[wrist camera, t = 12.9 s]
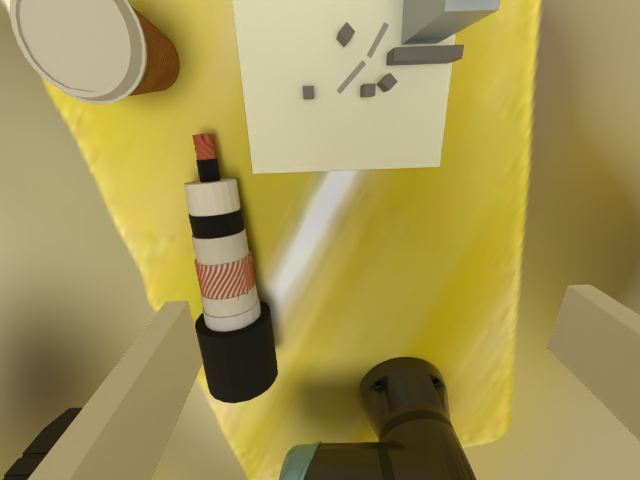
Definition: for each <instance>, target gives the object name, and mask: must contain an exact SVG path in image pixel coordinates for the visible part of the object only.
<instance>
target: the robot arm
mask: <svg viewBox="0 0 640 480" xmlns="http://www.w3.org/2000/svg"><path fill="white" fill-rule="evenodd" d="M547 348H548V349H549V350H550V351H551V352H552V353H553V354H554V355H555V356H556V357H557V358H558V359H559V360H560V361H561V362H562V363H563V364H564V365H565V366H566V367H567V368H568V369H569V370H570V371H571V372H572V373H573V374H574V375H575V376H576V377H577V378H578V379H579V380H580V381H581V382H582V383H583V384H584V385H585V386H586V387H587V388H588V389H589V390H590V391H591V392H592V393H593V394H594V395H595V396H596V397H597V398H598V399H599V400H600V401H601V402H602V403H603V404H604V405H605V406H606V407H607V408H608V409H609V410H610V411H611V412H612V413H613V414H614V415H615V416H616V418H618V419H619V421H620V422H621V423H622V424H623V425H624V426H625V427H626V428H627V429H628V430H629V431H630V432H631V433H632V434H633V435H634V436H635V437H636V438H637V439H638V440H639V441H640V315H638V314H636V313H635V312H633V311H632V310H630V309H628V308H627V307H625V306H624V305H622V304H620V303H619V302H617V301H615V300H614V299H612V298H611V297H609V296H607V295H606V294H604V293H603V292H601V291H599V290H598V289H596V288H595V287H593V286H591V285H569V286H568V288H567V291H566V293H565V296H564V299H563V302H562V305H561V308H560V311H559V314H558V317H557V320H556V323H555V326H554V329H553V332H552V335H551V337H550V340H549V343H548V347H547ZM202 363H203V359H202V355H201V351H200V347H199V343H198V339H197V335H196V331H195V327H194V323H193V319H192V315H191V311H190V307H189V303H188V301H174V302H165V303H164V305H163V306H162V307H161V308H160V310H159V311H158V312H157V314H156V315H155V316H154V317H153V319H152V320H151V321H150V323H149V324H148V325H147V327H146V328H145V329H144V330H143V332H142V333H141V334H140V335H139V337H138V338H137V339H136V341H135V342H134V343H133V345H132V346H131V347H130V348H129V350H128V351H127V352H126V354H125V355H124V356H123V357H122V359H121V360H120V361H119V363H118V364H117V365H116V366H115V368H114V369H113V370H112V372H111V373H110V374H109V375H108V377H107V378H106V379H105V381H104V382H103V383H102V385H101V386H100V387H99V388H98V390H97V391H96V392H95V394H94V395H93V396H92V397H91V399H90V400H89V401H88V402H87V404H86V405H85V406H84V408H69V409H68V410H66V411H65V412H64V413H63V414H62V415H60V416H59V417H58V418H57V419H55V420H54V421H53V422H51V423H50V424H49V425H48V426H47V427H45V428H44V429H43V430H42V431H41V433H40V434H39V435H38V436H37V437H36V438H35V440H34V441H33V442H32V443H31V444H30V445H29V447H28V448H27V449H26V450H25V452H23V456H22V458H19V459H18V460H17V461H16V462H15V463H14V464H13V466H12V467H11V468H10V469H9V470H8V471H7V473H6V474H5V475H4V479H3V480H151V479H152V476H153V474H154V472H155V469H156V467H157V465H158V463H159V461H160V458H161V456H162V454H163V452H164V449H165V447H166V444H167V442H168V440H169V438H170V436H171V433H172V431H173V429H174V427H175V424H176V422H177V420H178V418H179V415H180V413H181V411H182V408H183V406H184V404H185V401H186V399H187V397H188V395H189V393H190V390H191V388H192V386H193V384H194V381H195V379H196V377H197V374H198V372H199V370H200V368H201V365H202ZM360 398H361V404H362V408H363V411H364V413H365V415H366V417H367V418H368V420H369V422H370V424H371V426H372V428H373V429H374V431H375V433H376V435H377V437H378V440H379V442H362V443H322V442H317V443H315V444H304V445H296V446H294V447H292V448H291V449H290V450H289V451H288V453H287V455H286V457H285V459H284V462H283V466H282V469H281V473H280V478H279V480H476V478H475V475H474V473H473V471H472V469H471V466H470V464H469V462H468V460H467V457H466V455H465V453H464V451H463V449H462V446H461V444H460V442H459V440H458V438H457V435H456V433H455V431H454V429H453V426H452V424H451V422H450V415H449V405H448V395H447V389H446V385H445V383H444V381H443V379H442V377H441V375H440V373H439V371H438V370H437V369H436V368H435V367H434V366H433V365H431V364H429V363H428V362H425V361H423V360H419V359H414V358H399V359H393V360H390V361H387V362H384V363H382V364H380V365H378V366H376V367H375V368H373V369H372V370H371V371H370V372H369V373H368V374H367V375H366V376H365V378H364V379H363V381H362V383H361V386H360Z"/></svg>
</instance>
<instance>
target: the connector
mask: <svg viewBox="0 0 640 480" xmlns="http://www.w3.org/2000/svg"><path fill="white" fill-rule="evenodd" d="M499 4H500V0H404V3H403V20H402V36H401V45H412V44H437V43H439V42H441V41H443V40H444V39H446V38H448V37H450V36H452V35H453V34H455V33H457V32H459V31H461V30H462V29H464V28H466V27H468V26H470V25H472V24H473V23H475V22H477V21H479V20H481V19H482V18H484V17H486V16H488V15H490V14H492V13H493V12H495V11H497V10H499Z"/></svg>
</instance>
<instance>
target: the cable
mask: <svg viewBox="0 0 640 480" xmlns="http://www.w3.org/2000/svg"><path fill="white" fill-rule="evenodd" d="M192 136H193V141H194V145H195V151H196V153H197V160H196V161H197V166H198V172H199V177H200V181H194V182H188V183H184V187H185V193H186V198H187V203H188V208H189V219H190V223H191V228H192V233H193V235H192V240H193V244H194V249H195V254H196V259H195V266H196V271H197V275H198V280H199V286H200V290H201V297H202V301H203V306H204V307H203V313H202V314H201V315H200V316H199V318H198V319H197V321H196V322H195V329H196V333H197V338H198V342H199V347H200V351H201V355H202V359H203V365H204V370H205V374H206V379H207V383H208V387H209V391H210V394H211V395H212V396H213V397H214V398H215V399H217V400H220V401H222V402H227V403H238V402H243V401H248V400H251V399H253V398H255V397H257V396H259V395H261V394H262V393H264V392H265V391H266V390H268V389H269V388H270V386H271V385H272V384H273V383H274V381H275V379H276V377H277V375H278V370H277V360H276V352H275V345H274V337H273V330H272V323H271V315H270V308H269V306H268V305H267V304H266V303H265V302H263V301H261V300H259V297H258V295H257V289H256V283H255V278H254V267H253V255H252V251H250V250H249V249H248V243H247V236H246V229H245V227H244V222H243V215H242V209H241V207H240V201H239V194H238V188H237V181H236V179H235V178H224V179H220V174H219V168H218V162H217V159H216V154H215V147H214V140H213V134H198V135H192Z"/></svg>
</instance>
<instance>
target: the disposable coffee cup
mask: <svg viewBox="0 0 640 480" xmlns="http://www.w3.org/2000/svg"><path fill="white" fill-rule="evenodd" d="M10 15H11V22H12V28H13V31H14V34H15V37H16V39H17V42H18V45H19V46H20V48H21V50H22V52H23V54H24V56H25V57H26V59H27V60H28V61H29V63H30V64H31V65H32V67H33V68H34V69H35V70H36V71H37V72H38V73H39V74H40V75H41V76H42V77H43V78H44V79H45V80H46V81H48V82H49V83H50V84H52V85H53V86H55V87H57V88H58V89H60V90H61V91H63V92H64V93H66V94H67V95H69V96H71V97H73V98H75V99H77V100H80V101H83V102H86V103H92V104H110V103H114V102H117V101H120V100H122V99H124V98H126V97H127V96H132V95H137V94H144V93H150V92H156V91H163V90H165V89H167V88H169V87H170V86H172V84H173V83H174V82H175V81H176V79H177V76H178V73H179V58H178V54H177V52H176V49H175V47H174V46H173V44H172V43H171V41H170V40H169V39H168V38H167V37H166V36H165V35H164V34H163V33H162V32H160V31H159V30H158V29H157V28H156V27H155V26H154V25H152V24H151V23H150V22H149V21H148V20H147V19H146V18H144V17H143V16H142V15H141V14H140V13H139V12H138V11H136V10H135V9H134V8H133V7H132V6H131V5H130V3H129V2H128V0H11V2H10Z"/></svg>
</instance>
